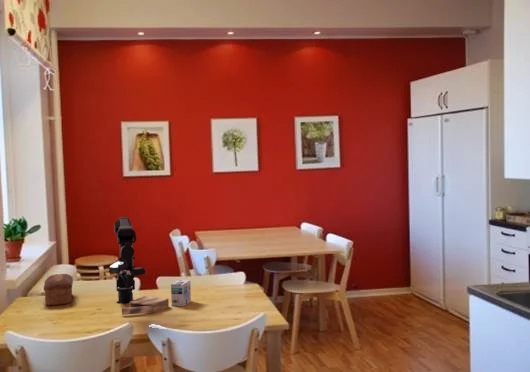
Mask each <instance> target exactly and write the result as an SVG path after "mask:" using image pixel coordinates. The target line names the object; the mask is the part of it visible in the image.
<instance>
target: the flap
mask: <svg viewBox="0 0 530 372" xmlns="http://www.w3.org/2000/svg"><path fill="white" fill-rule="evenodd" d="M152 312H153V306H143V307H131V308H129V307H121V315H122V316H126V315H137V314H153V313H152Z"/></svg>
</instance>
